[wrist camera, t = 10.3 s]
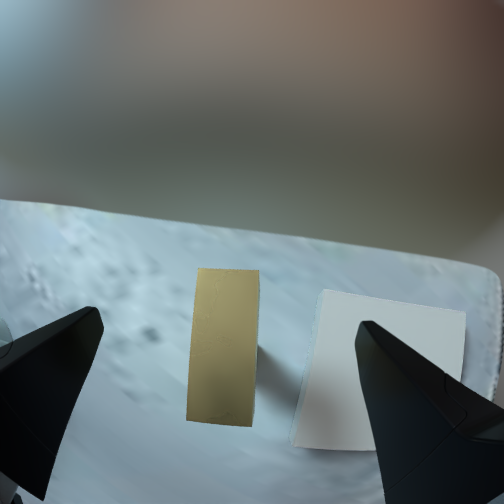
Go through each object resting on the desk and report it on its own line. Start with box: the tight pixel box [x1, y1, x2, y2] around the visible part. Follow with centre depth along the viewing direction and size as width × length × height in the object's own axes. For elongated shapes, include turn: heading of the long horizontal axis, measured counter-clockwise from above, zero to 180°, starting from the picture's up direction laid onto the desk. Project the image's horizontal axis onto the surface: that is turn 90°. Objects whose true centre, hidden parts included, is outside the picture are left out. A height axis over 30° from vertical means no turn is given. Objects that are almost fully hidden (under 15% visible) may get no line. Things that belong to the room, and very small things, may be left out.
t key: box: [186, 268, 260, 427], centre depth 15 cm, size 6×2×12 cm, turn 177°
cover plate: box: [289, 289, 466, 451], centre depth 18 cm, size 12×14×2 cm
